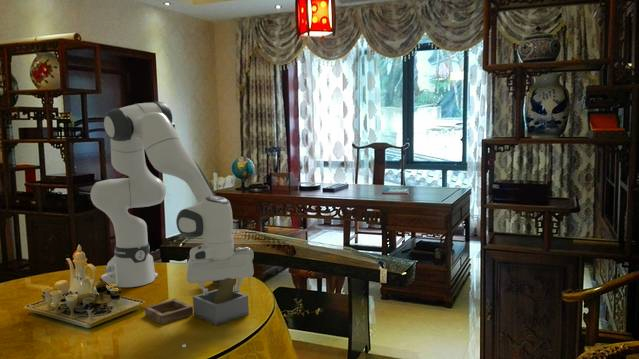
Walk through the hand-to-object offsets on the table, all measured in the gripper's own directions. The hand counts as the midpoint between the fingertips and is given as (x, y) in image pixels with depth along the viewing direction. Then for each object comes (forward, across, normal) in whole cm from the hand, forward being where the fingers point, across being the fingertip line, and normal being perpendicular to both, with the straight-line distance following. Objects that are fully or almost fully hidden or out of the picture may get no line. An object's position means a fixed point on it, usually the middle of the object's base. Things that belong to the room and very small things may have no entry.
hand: (221, 293), depth 159 cm
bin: (+7, 0, 0) cm, 7 cm away
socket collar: (+7, +16, -5) cm, 18 cm away
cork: (+5, 0, 0) cm, 5 cm away
